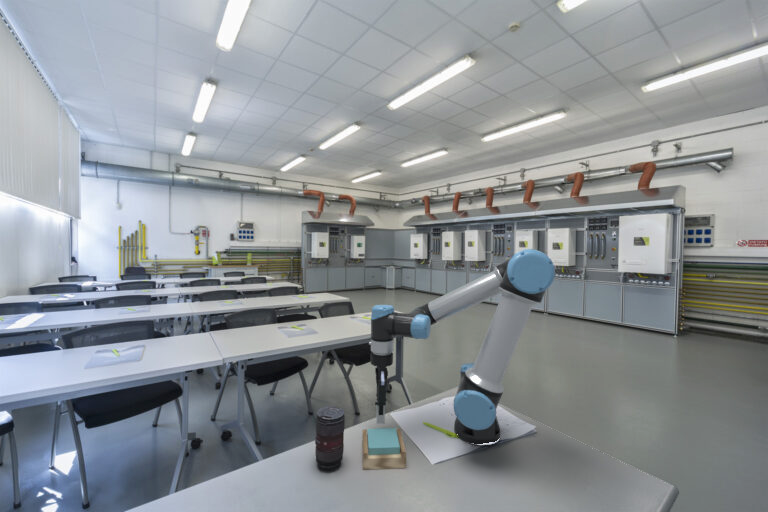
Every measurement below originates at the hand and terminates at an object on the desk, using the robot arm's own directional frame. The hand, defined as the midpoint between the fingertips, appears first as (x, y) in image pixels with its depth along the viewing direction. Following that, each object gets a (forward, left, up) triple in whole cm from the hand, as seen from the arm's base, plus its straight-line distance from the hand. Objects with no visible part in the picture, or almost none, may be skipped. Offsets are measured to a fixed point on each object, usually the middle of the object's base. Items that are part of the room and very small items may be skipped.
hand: (380, 422), depth 105 cm
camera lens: (+16, +14, -4) cm, 21 cm away
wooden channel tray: (0, +10, -4) cm, 11 cm away
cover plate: (0, +10, -1) cm, 10 cm away
